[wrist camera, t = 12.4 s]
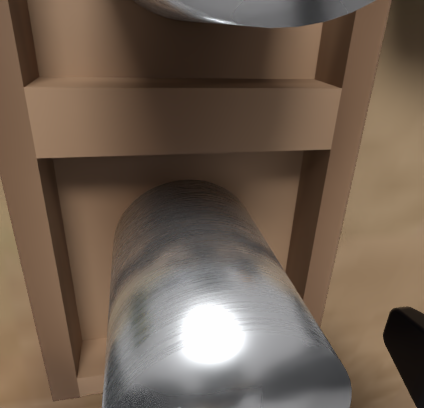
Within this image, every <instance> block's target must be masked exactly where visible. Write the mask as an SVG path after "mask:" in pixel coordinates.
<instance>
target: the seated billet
mask: <svg viewBox="0 0 424 408" xmlns="http://www.w3.org/2000/svg"><path fill="white" fill-rule="evenodd" d="M133 1H135V2H136V3H137V4H139V5H140V6H142V7H144V8H145V9H147V10H149V11H150V12H153V13H155V14H157V15H160V16H162V17H166V18H170V19H174V20H181V21H191V22H203V23H215V24H227V25H240V26H252V27H264V28H284V27H300V26H306V25H311V24H316V23H321V22H326V21H329V20H332V19H335V18H338V17H340V16H343V15H346V14H349V13H352V12H354V11H356V10H358V9H360V8H362V7H364V6H366V5H368V4H370V3H372V2H374V1H376V0H133Z"/></svg>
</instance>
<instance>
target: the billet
mask: <svg viewBox="0 0 424 408" xmlns="http://www.w3.org/2000/svg"><path fill="white" fill-rule="evenodd" d="M351 393H352V389H351V383H350V379H349V376H348V374H347V371H346V369H345V368H344V366H343V364H342V363H341V361H340V360H339V358H338V356H337V355H336V353H335V352H334V350H333V348H332V347H331V345H330V343H329V342H328V340H327V339H326V337H325V335H324V334H323V332H322V331H321V329H320V327H319V326H318V324H317V322H316V321H315V319H314V318H313V316H312V314H311V313H310V311H309V310H308V308H307V306H306V305H305V303H304V301H303V300H302V298H301V297H300V295H299V293H298V292H297V290H296V289H295V287H294V285H293V284H292V282H291V280H290V279H289V277H288V276H287V274H286V272H285V271H284V269H283V268H282V266H281V264H280V263H279V261H278V259H277V258H276V256H275V255H274V253H273V251H272V250H271V248H270V247H269V245H268V243H267V242H266V240H265V238H264V237H263V235H262V234H261V232H260V230H259V229H258V227H257V226H256V224H255V222H254V221H253V219H252V217H251V216H250V214H249V213H248V211H247V209H246V208H245V206H244V205H243V203H242V202H241V201H240V200H239V199H238V198H237V197H236V196H235V195H234V194H232V193H231V192H230V191H228V190H226V189H225V188H223V187H221V186H218V185H216V184H213V183H210V182H206V181H200V180H179V181H173V182H169V183H165V184H162V185H159V186H157V187H155V188H153V189H151V190H149V191H147V192H145V193H144V194H142V195H141V196H139V197H138V198H137V199H136V200H135V201H134V202H132V203H131V205H130V206H129V207H128V208H127V209H126V210H125V212H124V213H123V215H122V216H121V218H120V220H119V222H118V224H117V227H116V230H115V233H114V240H113V252H112V267H111V282H110V297H109V312H108V327H107V342H106V356H105V371H104V386H103V401H102V408H350V404H351Z"/></svg>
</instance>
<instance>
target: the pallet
mask: <svg viewBox="0 0 424 408" xmlns="http://www.w3.org/2000/svg"><path fill="white" fill-rule="evenodd" d="M391 1H392V0H376V1H374V2H372V3H370V4H368V5H366V6H364V7H362V8H360V9H358V10H356V11H354V12H352V13H349V14H346V15H343V16H340V17H338V18H335V19H332V20H329V21H326V22H321V23H316V24H311V25H306V26H300V27H284V28H264V27H252V26H240V25H227V24H215V23H203V22H191V21H181V20H174V19H170V18H166V17H162V16H160V15H157V14H155V13H153V12H150V11H149V10H147V9H145V8H144V7H142V6H140V5H139V4H137V3H136V2H135V1H133V0H0V176H1V180H2V184H3V188H4V193H5V197H6V201H7V206H8V210H9V214H10V218H11V223H12V227H13V231H14V236H15V240H16V244H17V249H18V253H19V257H20V261H21V266H22V270H23V274H24V279H25V283H26V287H27V291H28V296H29V300H30V304H31V309H32V313H33V317H34V322H35V326H36V330H37V334H38V339H39V343H40V347H41V352H42V356H43V360H44V364H45V369H46V373H47V377H48V382H49V386H50V390H51V395H52V399H53V401H59V400H65V399H72V398H79V397H80V396H85V395H92V394H99V393H103V386H104V371H105V356H106V342H107V327H108V312H109V297H110V282H111V267H112V252H113V240H114V233H115V230H116V227H117V224H118V222H119V220H120V218H121V216H122V215H123V213H124V212H125V210H126V209H127V208H128V207H129V206H130V205H131V203H132V202H134V201H135V200H136V199H137V198H138V197H139V196H141V195H142V194H144V193H145V192H147V191H149V190H151V189H153V188H155V187H157V186H159V185H162V184H165V183H169V182H173V181H179V180H200V181H206V182H210V183H213V184H216V185H218V186H221V187H223V188H225V189H226V190H228V191H230V192H231V193H232V194H234V195H235V196H236V197H237V198H238V199H239V200H240V201H241V202H242V203H243V205H244V206H245V208H246V209H247V211H248V213H249V214H250V216H251V217H252V219H253V221H254V222H255V224H256V226H257V227H258V229H259V230H260V232H261V234H262V235H263V237H264V238H265V240H266V242H267V243H268V245H269V247H270V248H271V250H272V251H273V253H274V255H275V256H276V258H277V259H278V261H279V263H280V264H281V266H282V268H283V269H284V271H285V272H286V274H287V276H288V277H289V279H290V280H291V282H292V284H293V285H294V287H295V289H296V290H297V292H298V293H299V295H300V297H301V298H302V300H303V301H304V303H305V305H306V306H307V308H308V310H309V311H310V313H311V314H312V316H313V318H314V319H315V321H316V322H317V324H318V326H319V327H320V326H321V321H322V317H323V312H324V308H325V303H326V298H327V294H328V289H329V285H330V280H331V276H332V271H333V266H334V262H335V257H336V253H337V248H338V244H339V239H340V234H341V230H342V225H343V221H344V216H345V212H346V207H347V202H348V198H349V193H350V189H351V184H352V180H353V175H354V170H355V166H356V161H357V157H358V152H359V148H360V143H361V138H362V134H363V129H364V125H365V120H366V116H367V111H368V106H369V102H370V97H371V93H372V88H373V84H374V79H375V74H376V70H377V65H378V61H379V56H380V52H381V47H382V42H383V38H384V33H385V29H386V24H387V19H388V15H389V10H390V6H391Z"/></svg>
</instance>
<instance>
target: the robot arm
mask: <svg viewBox="0 0 424 408" xmlns="http://www.w3.org/2000/svg"><path fill="white" fill-rule="evenodd" d="M383 339H384V343H385V345H386V347H387V349H388V351H389V353H390V355H391V357H392V359H393V361H394V363H395V365H396V367H397V369H398V371H399V373H400V375H401V377H402V379H403V381H404V383H405V385H406V387H407V389H408V391H409V393H410V395H411V397H412V399H413V401H414V403H415V405H416V407H417V408H424V314H423V313H421V312H419V311H417V310H415V309H413V308H411V307H399V308H394V309H392V310H391V311H390V313H389V317H388V320H387V323H386V326H385V329H384V332H383Z"/></svg>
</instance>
